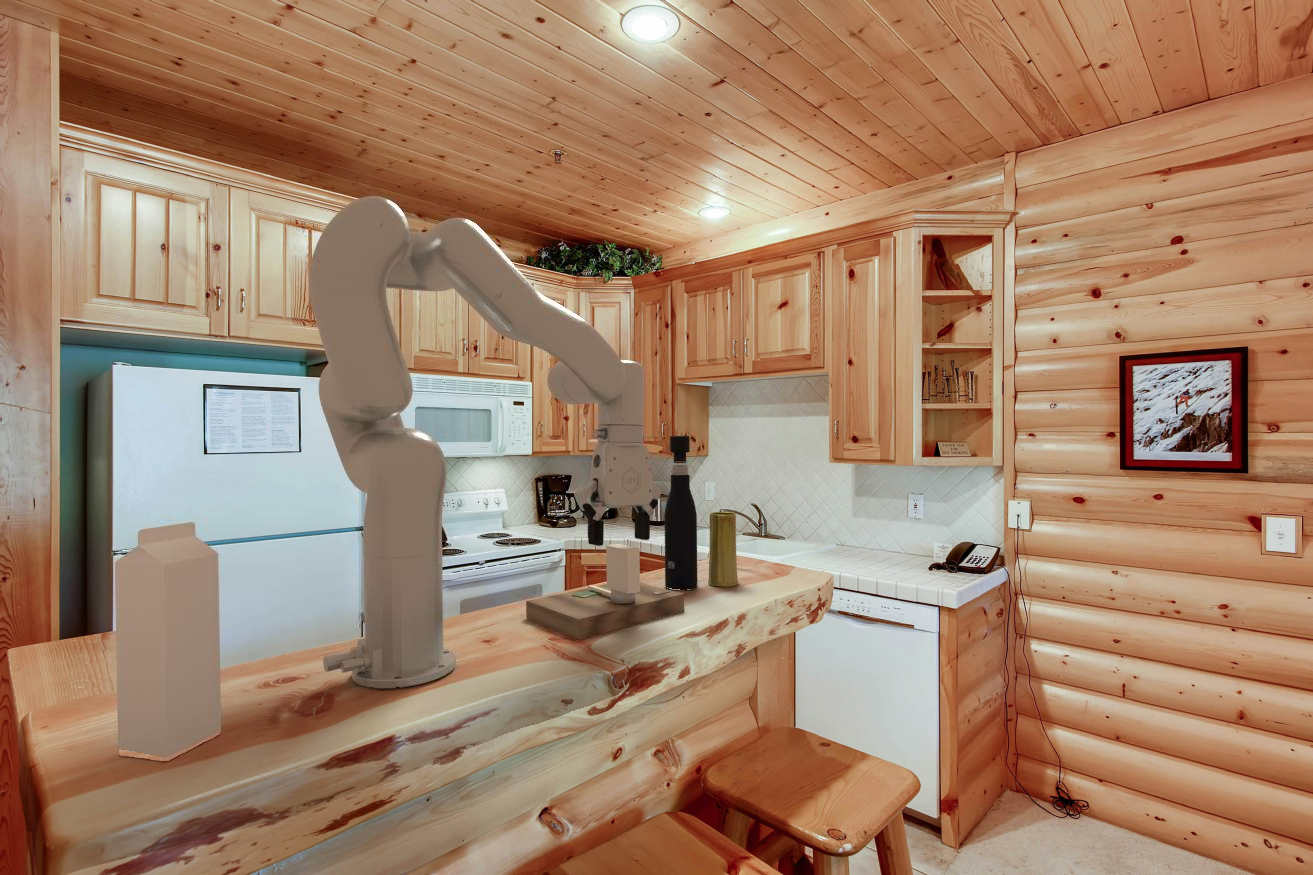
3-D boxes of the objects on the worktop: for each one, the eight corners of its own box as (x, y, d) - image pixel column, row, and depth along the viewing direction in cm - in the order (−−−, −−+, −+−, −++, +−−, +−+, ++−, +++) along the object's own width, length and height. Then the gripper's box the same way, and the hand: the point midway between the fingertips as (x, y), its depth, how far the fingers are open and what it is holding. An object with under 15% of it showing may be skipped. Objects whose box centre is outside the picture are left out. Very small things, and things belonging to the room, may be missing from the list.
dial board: (579, 639, 98) (578, 617, 98) (526, 618, 109) (526, 599, 109) (684, 611, 112) (684, 592, 112) (628, 595, 124) (628, 578, 124)
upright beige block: (644, 601, 106) (643, 547, 106) (623, 606, 104) (623, 550, 104) (599, 587, 116) (599, 538, 116) (580, 591, 114) (579, 540, 114)
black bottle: (698, 583, 133) (696, 435, 133) (696, 590, 127) (695, 435, 126) (666, 582, 134) (664, 436, 133) (663, 590, 127) (662, 436, 127)
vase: (723, 578, 137) (722, 510, 137) (744, 583, 132) (744, 513, 132) (702, 583, 133) (701, 513, 133) (723, 588, 128) (722, 515, 128)
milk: (221, 735, 68) (220, 522, 68) (165, 763, 62) (164, 530, 62) (174, 729, 69) (173, 520, 69) (115, 756, 63) (113, 528, 63)
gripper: (591, 436, 98) (590, 550, 98) (674, 437, 110) (673, 539, 110) (563, 436, 104) (562, 544, 104) (645, 437, 116) (644, 534, 115)
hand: (619, 541), depth 107 cm, fingers open, 9 cm apart
